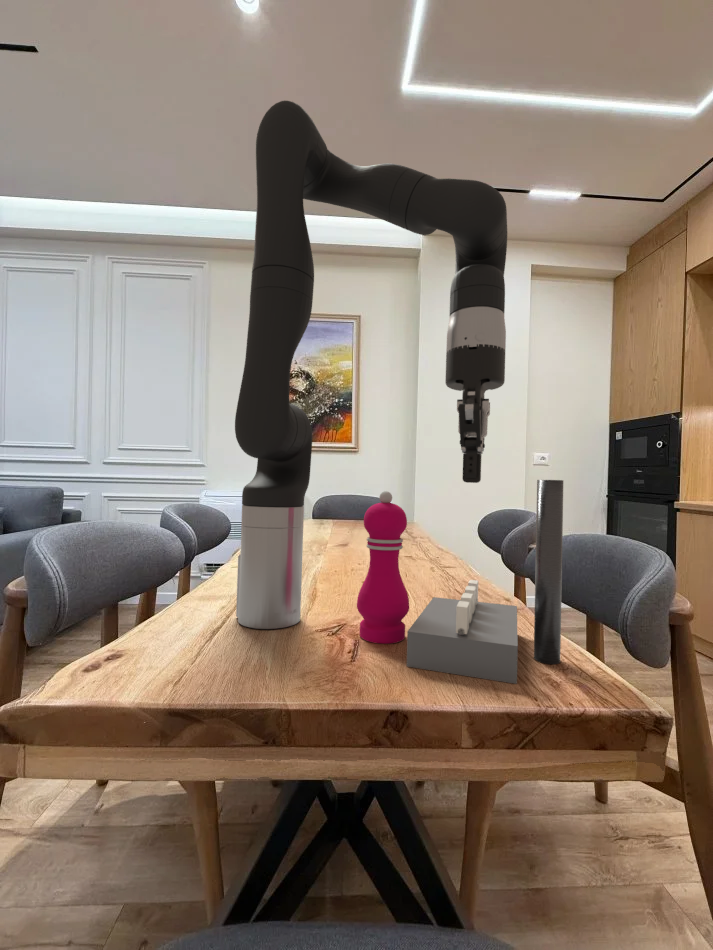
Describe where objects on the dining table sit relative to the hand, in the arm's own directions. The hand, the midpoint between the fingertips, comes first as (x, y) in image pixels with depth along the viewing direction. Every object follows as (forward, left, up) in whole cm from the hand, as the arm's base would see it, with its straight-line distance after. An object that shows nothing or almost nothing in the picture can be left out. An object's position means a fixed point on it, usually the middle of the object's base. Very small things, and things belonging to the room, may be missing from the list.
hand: (471, 482), depth 60 cm
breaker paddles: (0, 0, -18) cm, 18 cm away
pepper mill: (-10, -5, -22) cm, 25 cm away
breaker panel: (0, 0, -22) cm, 22 cm away
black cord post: (+8, +4, -22) cm, 23 cm away
